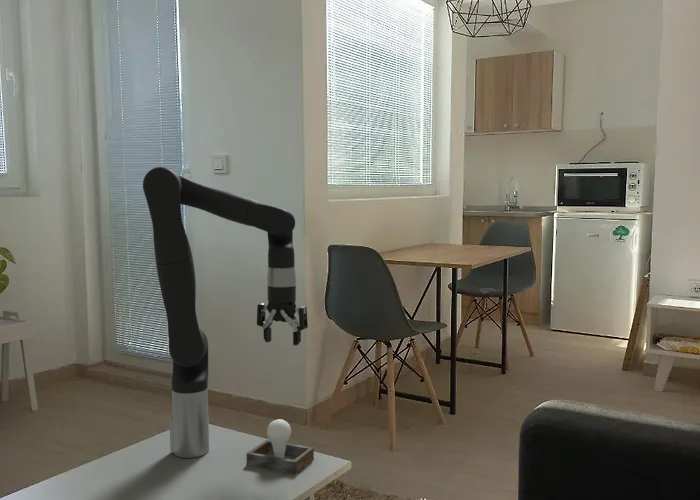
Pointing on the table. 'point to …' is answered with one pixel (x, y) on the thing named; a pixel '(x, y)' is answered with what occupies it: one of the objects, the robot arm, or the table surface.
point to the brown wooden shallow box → (280, 464)
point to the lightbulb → (279, 436)
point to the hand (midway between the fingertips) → (282, 343)
